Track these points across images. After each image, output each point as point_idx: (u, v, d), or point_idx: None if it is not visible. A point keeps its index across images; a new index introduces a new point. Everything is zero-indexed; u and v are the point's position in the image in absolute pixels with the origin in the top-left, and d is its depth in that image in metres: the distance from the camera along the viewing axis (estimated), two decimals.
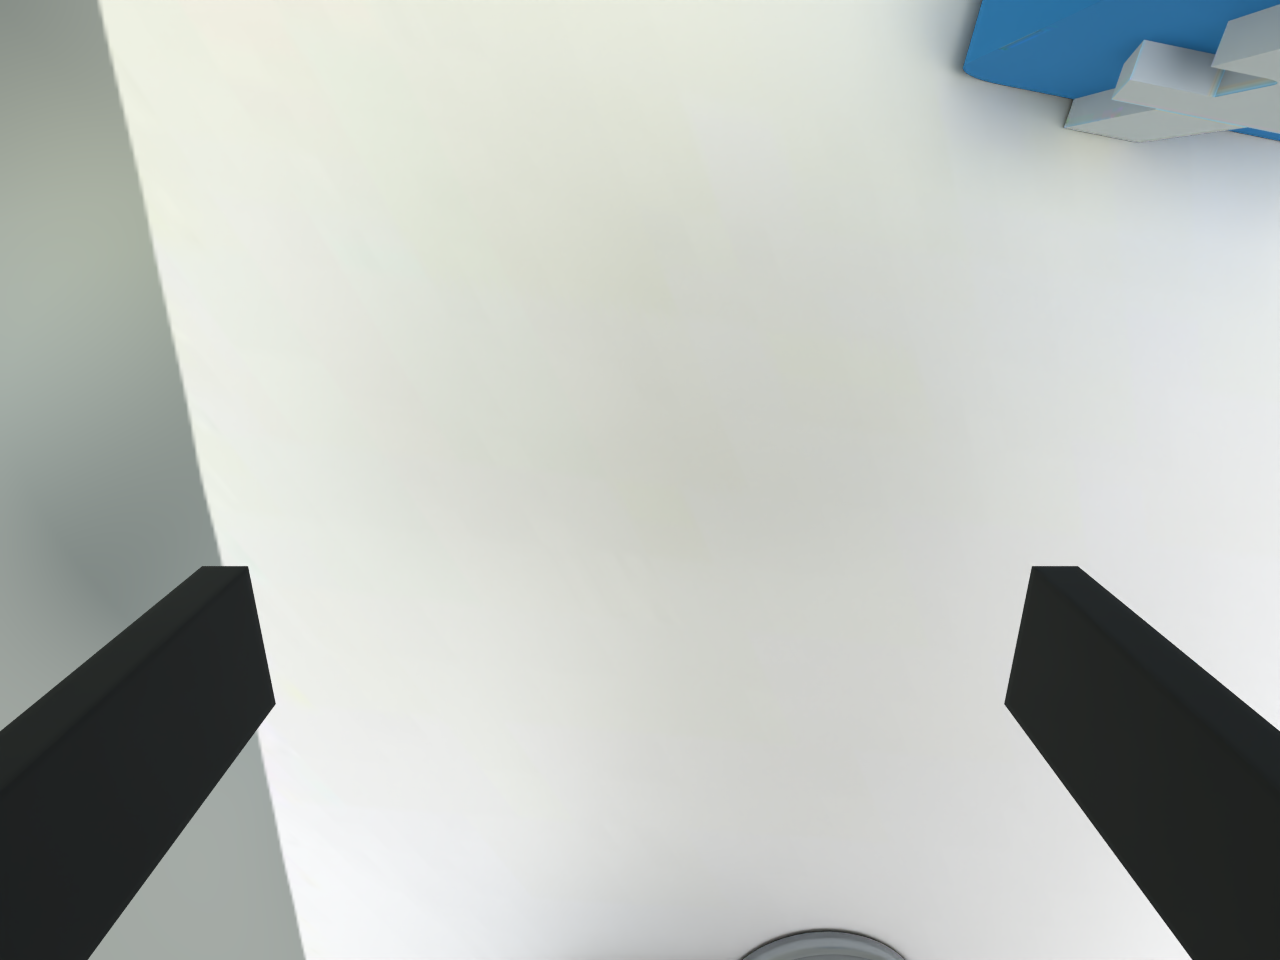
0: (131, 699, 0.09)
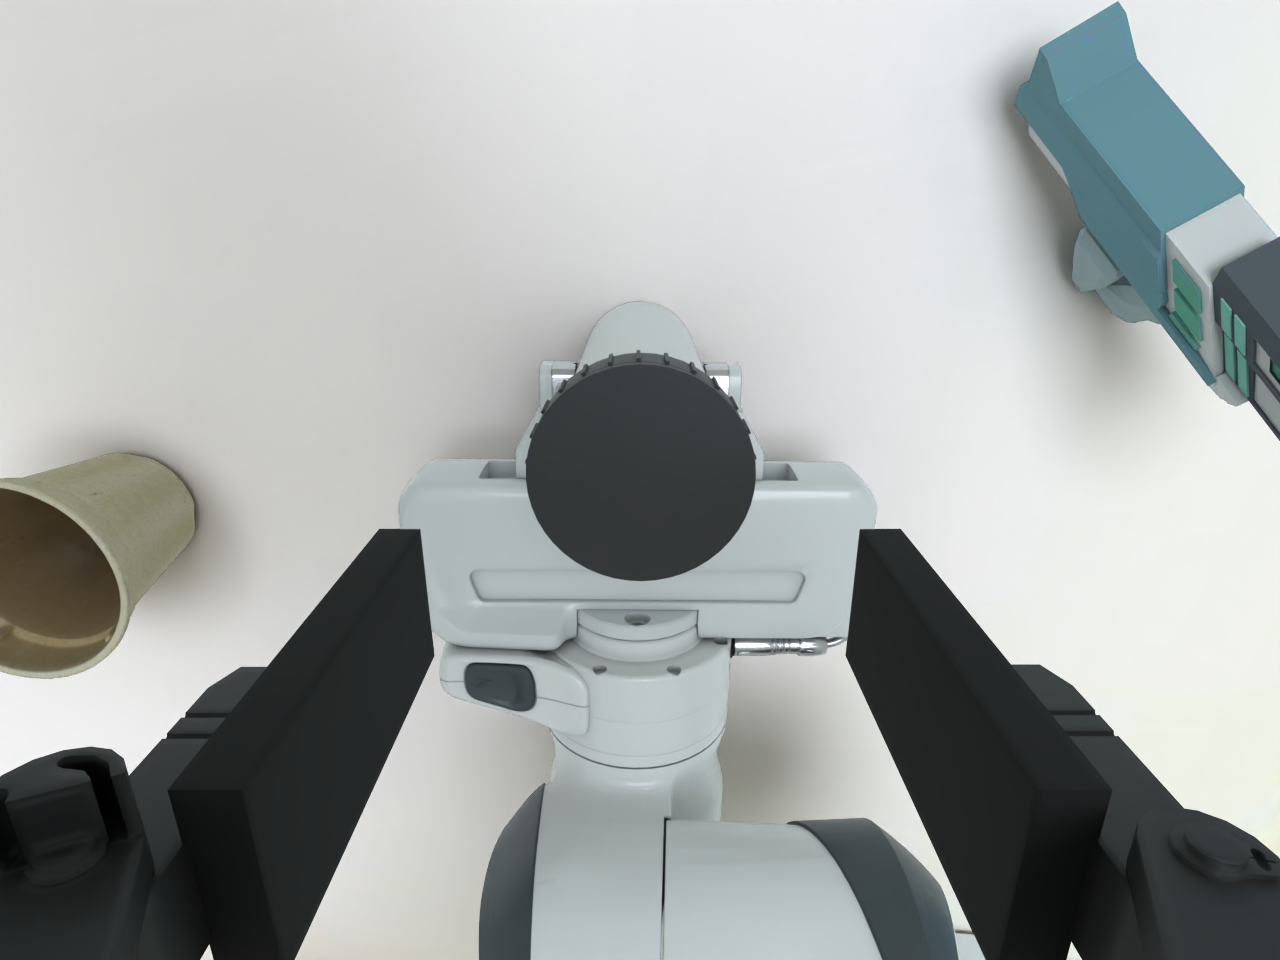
0: (363, 634, 0.11)
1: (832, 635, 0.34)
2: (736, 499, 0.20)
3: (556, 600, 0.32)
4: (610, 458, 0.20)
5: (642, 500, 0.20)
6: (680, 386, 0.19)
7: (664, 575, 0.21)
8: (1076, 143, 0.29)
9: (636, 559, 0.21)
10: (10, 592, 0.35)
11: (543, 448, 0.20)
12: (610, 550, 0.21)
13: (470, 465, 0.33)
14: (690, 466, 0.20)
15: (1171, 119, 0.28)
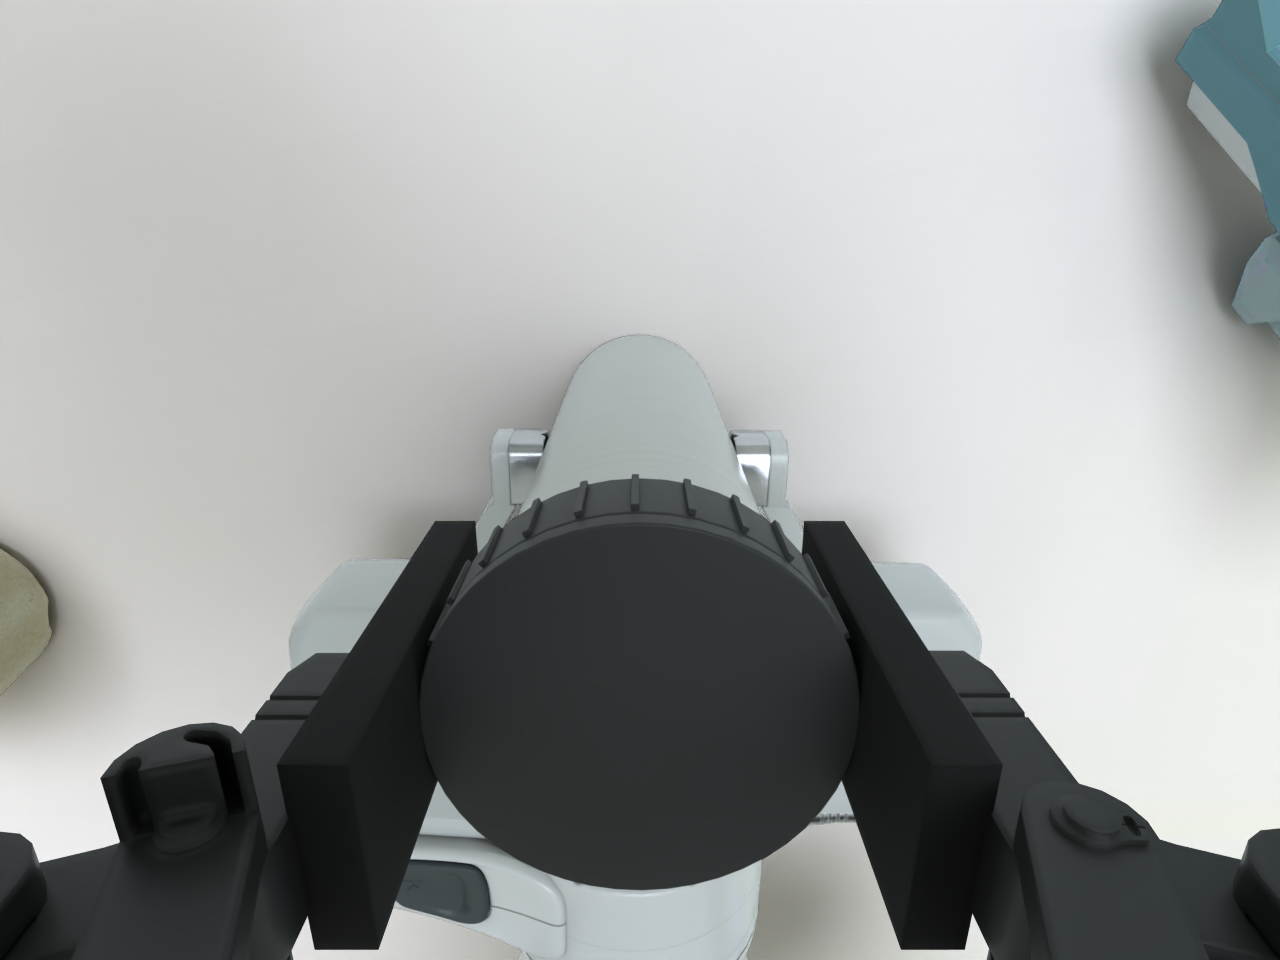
0: (434, 621, 0.11)
1: None
2: (821, 760, 0.11)
3: None
4: (581, 691, 0.10)
5: (642, 762, 0.11)
6: (718, 563, 0.10)
7: (684, 881, 0.11)
8: None
9: (631, 857, 0.11)
10: None
11: (450, 674, 0.10)
12: (583, 842, 0.11)
13: (399, 571, 0.23)
14: (735, 704, 0.10)
15: None
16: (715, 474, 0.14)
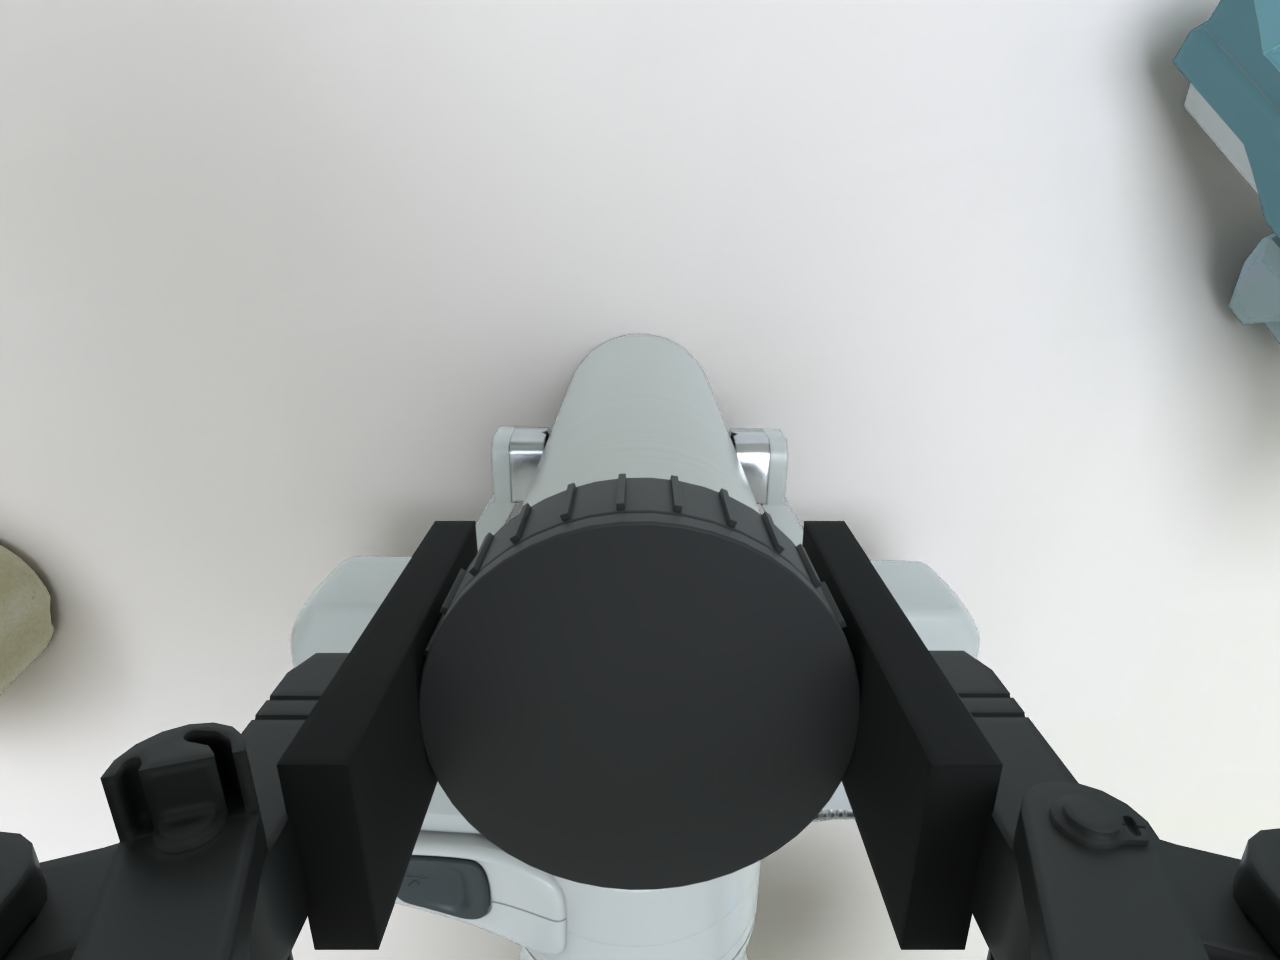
0: (434, 622, 0.11)
1: None
2: (698, 560, 0.10)
3: None
4: (596, 769, 0.11)
5: (683, 726, 0.10)
6: (457, 653, 0.10)
7: (851, 695, 0.10)
8: None
9: (808, 740, 0.11)
10: None
11: (573, 862, 0.11)
12: (782, 780, 0.11)
13: (400, 569, 0.23)
14: (619, 642, 0.10)
15: None
16: (715, 471, 0.14)
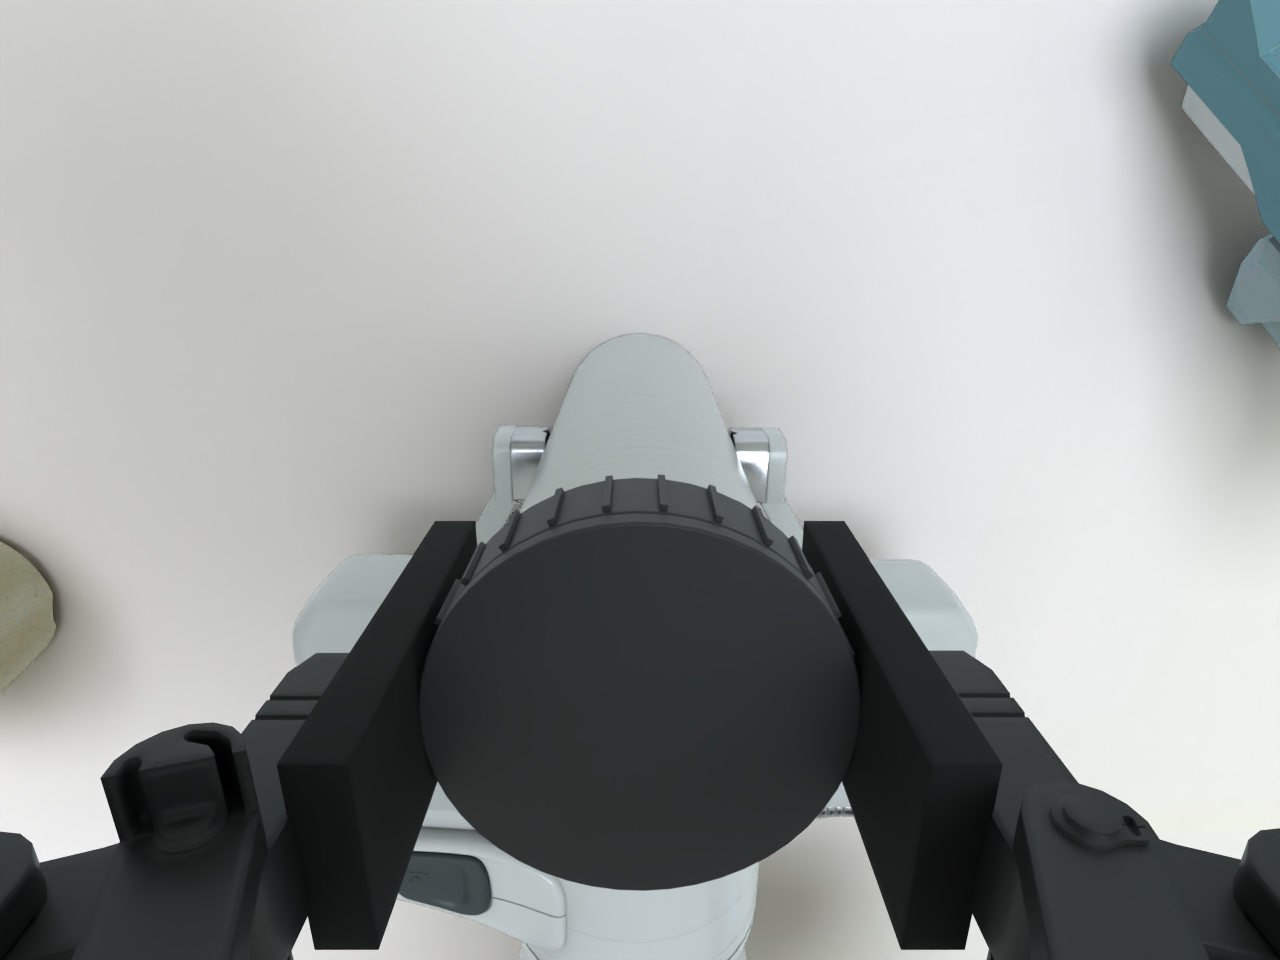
0: (434, 622, 0.11)
1: None
2: (455, 671, 0.10)
3: None
4: (691, 764, 0.11)
5: (642, 688, 0.10)
6: (552, 856, 0.11)
7: (614, 534, 0.09)
8: None
9: (671, 574, 0.10)
10: None
11: (808, 791, 0.11)
12: (723, 598, 0.10)
13: (401, 566, 0.23)
14: (543, 737, 0.11)
15: None
16: (714, 469, 0.14)
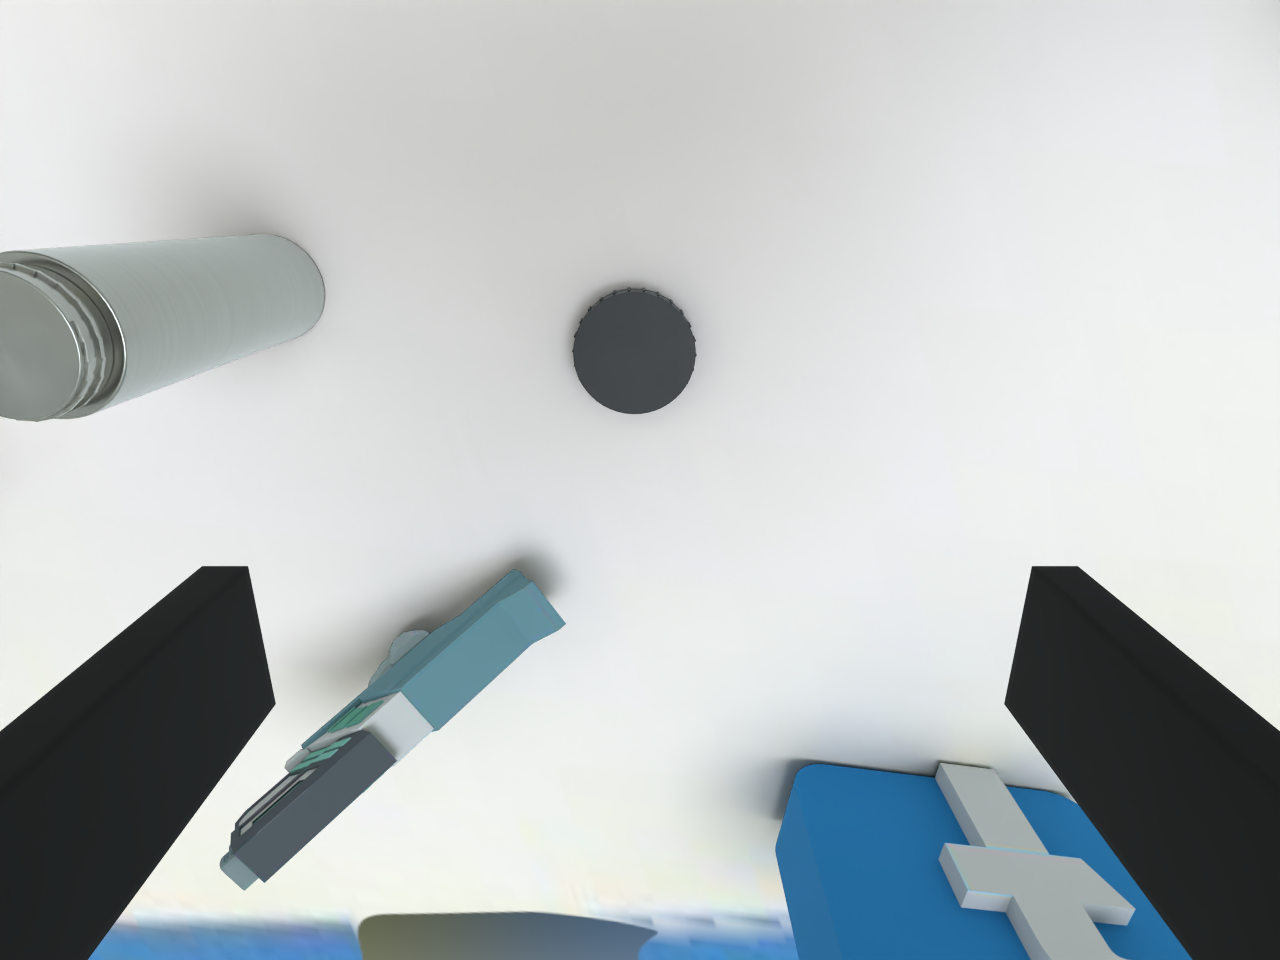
0: (131, 699, 0.09)
1: None
2: (661, 308, 0.37)
3: None
4: (619, 366, 0.38)
5: (646, 357, 0.38)
6: (591, 320, 0.37)
7: (692, 358, 0.38)
8: (473, 618, 0.40)
9: (678, 370, 0.38)
10: None
11: (604, 397, 0.39)
12: (669, 382, 0.38)
13: None
14: (635, 327, 0.37)
15: (487, 674, 0.39)
16: (166, 364, 0.26)
